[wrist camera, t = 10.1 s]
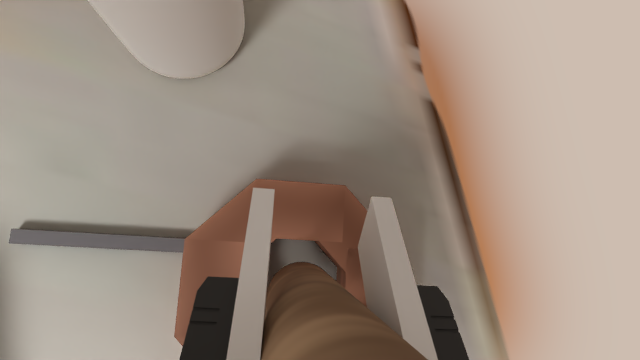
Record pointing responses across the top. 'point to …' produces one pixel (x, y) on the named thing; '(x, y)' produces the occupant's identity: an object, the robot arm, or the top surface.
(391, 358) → the dowel
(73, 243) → the grey thin bar
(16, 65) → the top surface
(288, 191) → the terracotta faceted ring
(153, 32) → the milk bottle
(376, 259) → the robot arm
